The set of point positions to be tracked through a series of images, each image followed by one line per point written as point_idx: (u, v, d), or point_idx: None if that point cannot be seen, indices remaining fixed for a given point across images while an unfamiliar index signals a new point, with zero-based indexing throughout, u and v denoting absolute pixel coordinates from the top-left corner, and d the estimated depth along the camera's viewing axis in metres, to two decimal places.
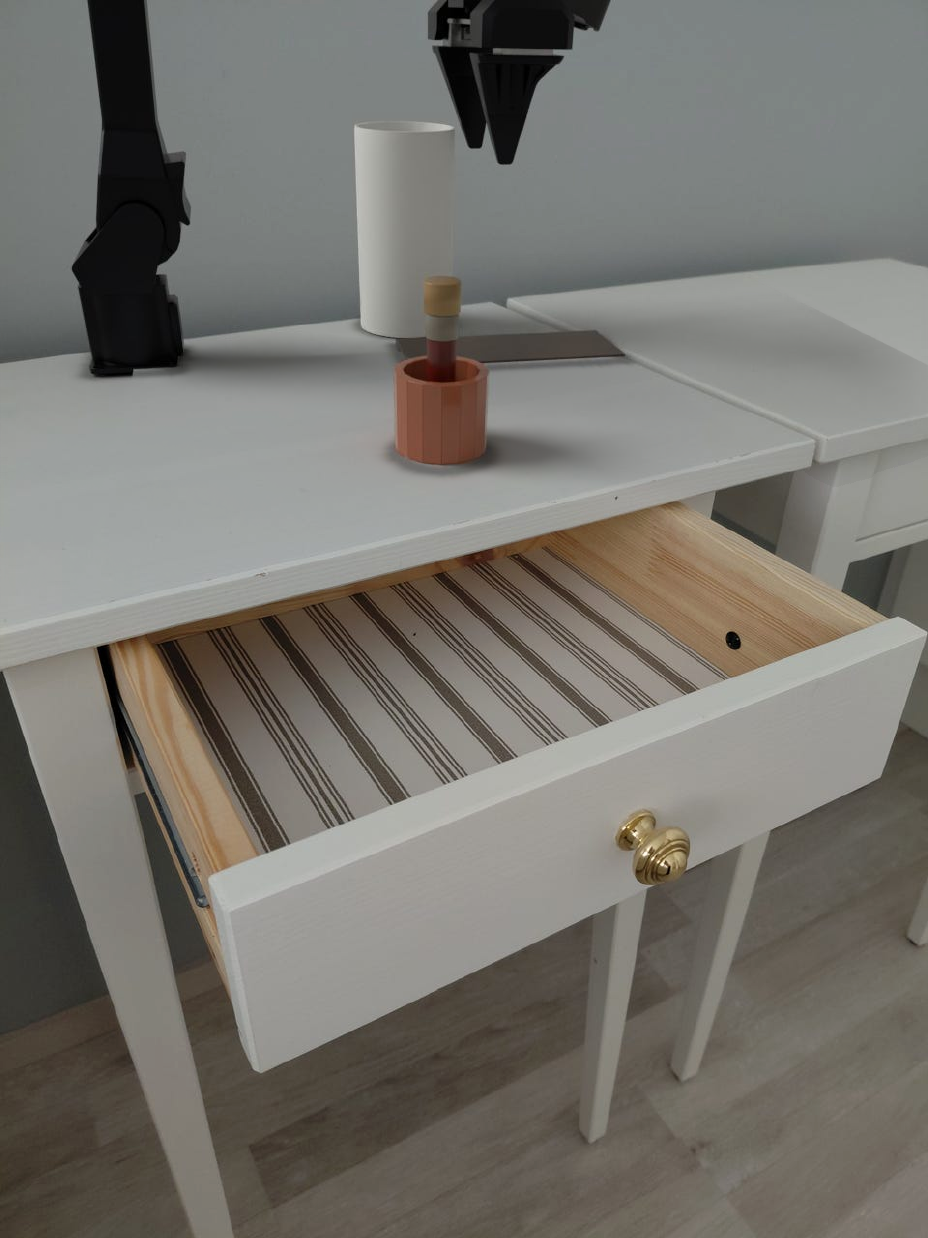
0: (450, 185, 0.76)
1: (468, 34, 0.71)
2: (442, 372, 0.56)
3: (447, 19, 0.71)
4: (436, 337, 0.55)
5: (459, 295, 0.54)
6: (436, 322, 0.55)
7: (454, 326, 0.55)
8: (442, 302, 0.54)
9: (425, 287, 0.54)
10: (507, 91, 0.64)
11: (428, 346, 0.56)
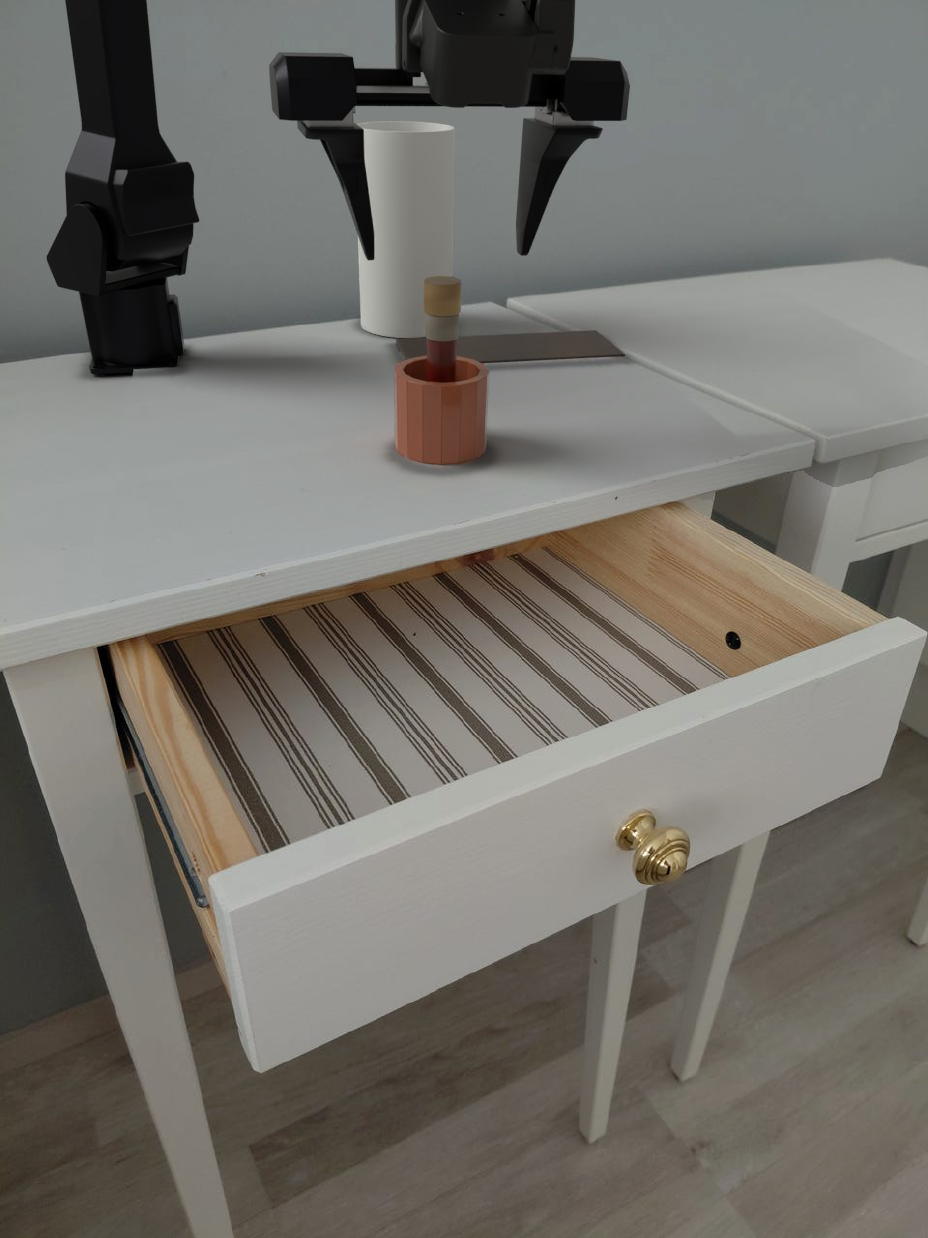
0: (450, 185, 0.76)
1: None
2: (442, 372, 0.56)
3: None
4: (436, 337, 0.55)
5: (459, 295, 0.54)
6: (436, 322, 0.55)
7: (454, 326, 0.55)
8: (442, 302, 0.54)
9: (425, 287, 0.54)
10: None
11: (428, 346, 0.56)
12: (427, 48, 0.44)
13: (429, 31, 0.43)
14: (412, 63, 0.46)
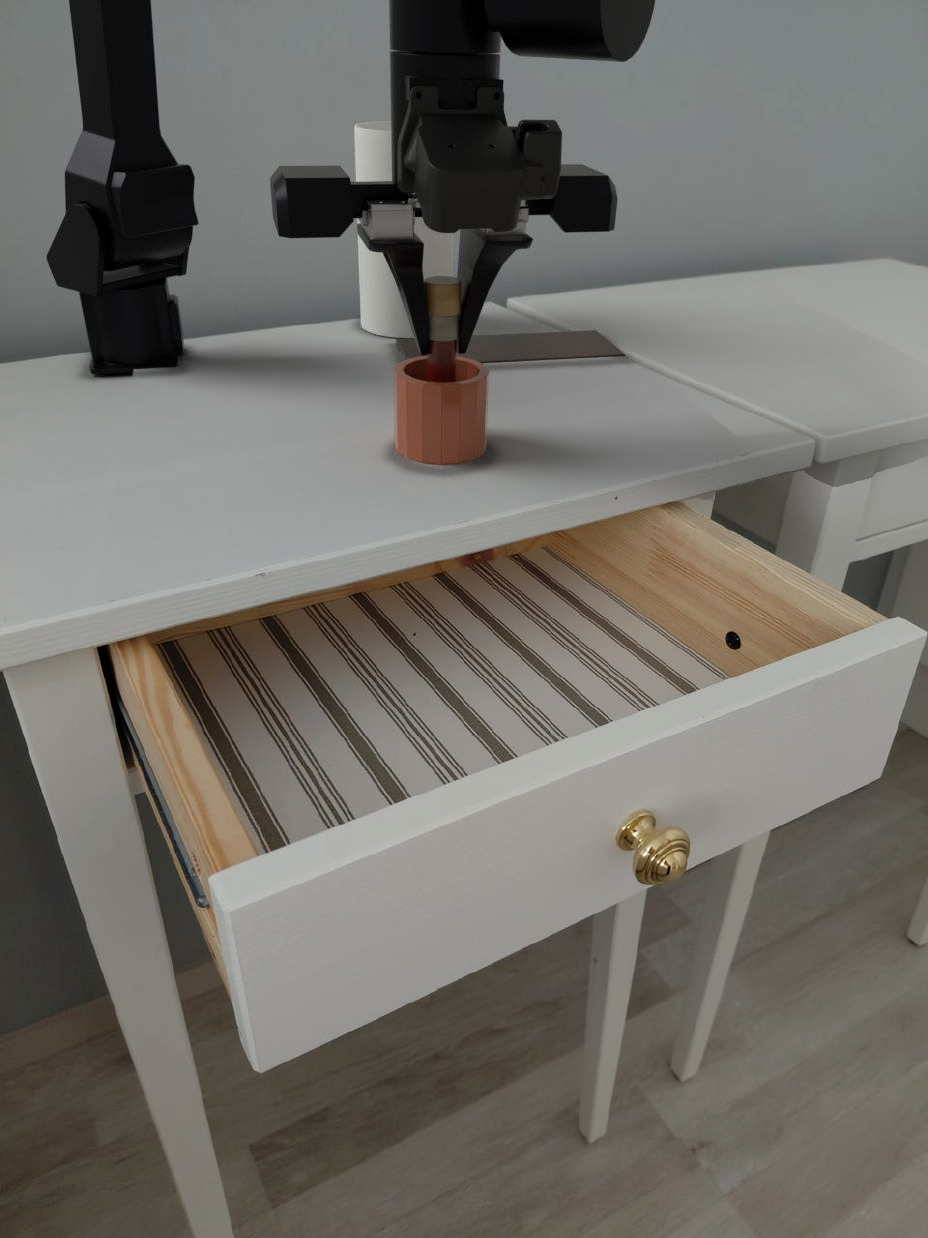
0: None
1: None
2: (442, 372, 0.56)
3: None
4: (436, 337, 0.55)
5: (459, 295, 0.54)
6: (436, 322, 0.55)
7: (454, 326, 0.55)
8: (442, 302, 0.54)
9: (425, 287, 0.54)
10: None
11: (428, 346, 0.56)
12: (420, 176, 0.46)
13: (422, 162, 0.45)
14: (406, 184, 0.48)
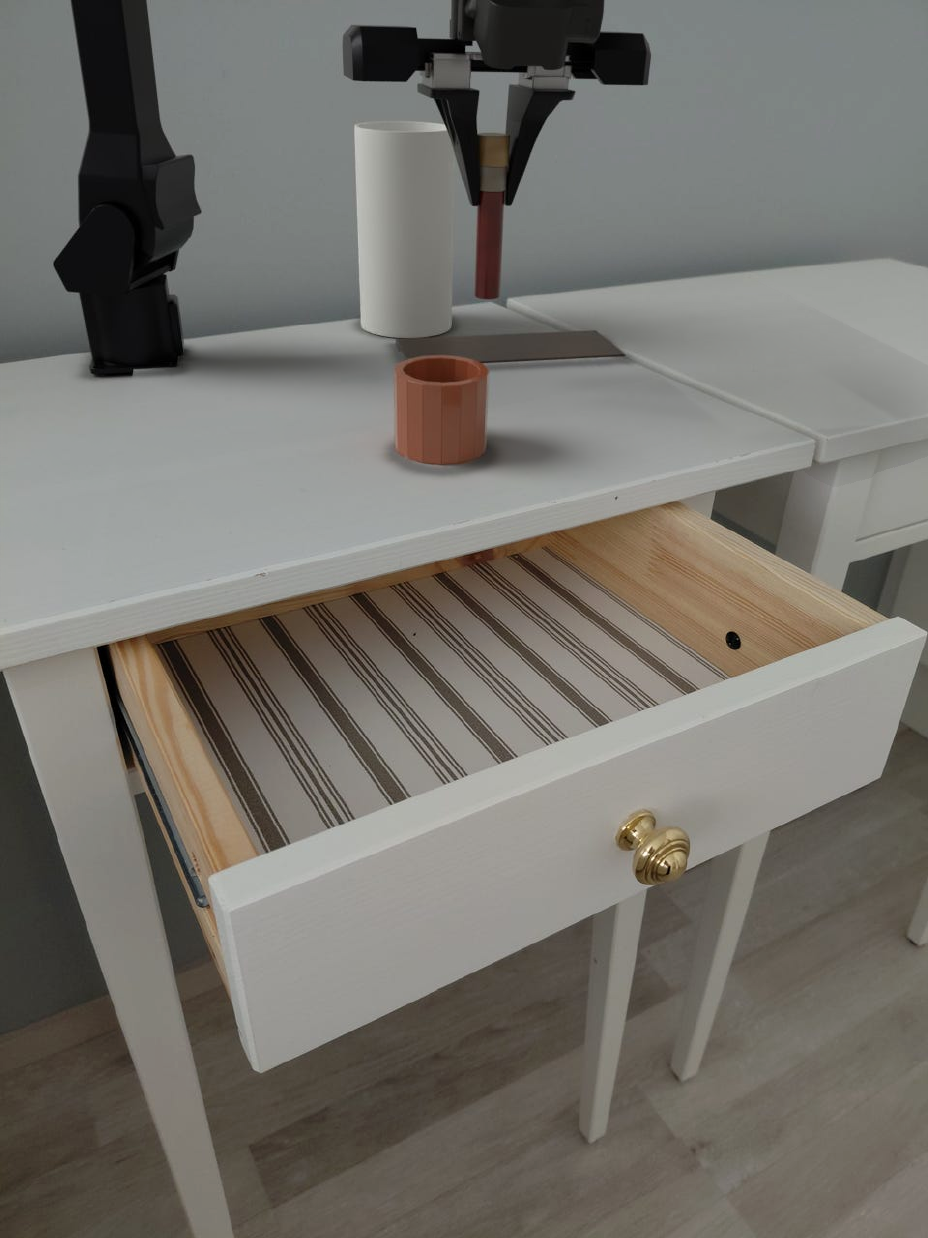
0: (450, 185, 0.76)
1: None
2: (491, 222, 0.63)
3: None
4: (486, 187, 0.61)
5: (508, 148, 0.61)
6: (487, 173, 0.61)
7: (502, 177, 0.61)
8: (493, 153, 0.60)
9: None
10: None
11: (479, 197, 0.62)
12: (480, 19, 0.52)
13: (482, 4, 0.51)
14: (466, 33, 0.54)
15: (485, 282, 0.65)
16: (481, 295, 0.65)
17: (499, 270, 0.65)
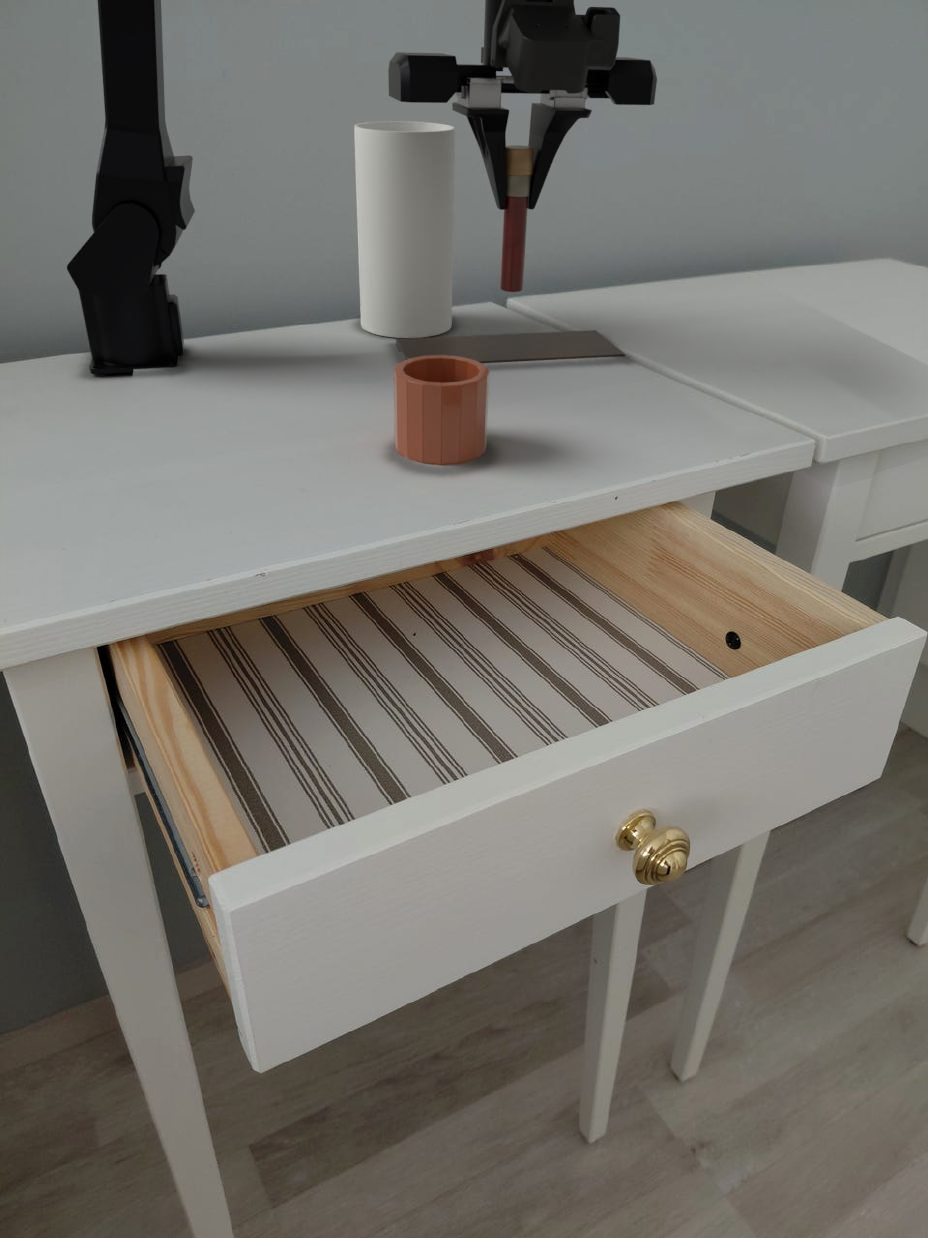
0: (450, 185, 0.76)
1: None
2: (516, 223, 0.71)
3: None
4: (513, 193, 0.70)
5: (532, 159, 0.69)
6: (513, 180, 0.70)
7: (526, 184, 0.70)
8: (519, 163, 0.69)
9: None
10: None
11: None
12: (512, 50, 0.61)
13: (515, 38, 0.60)
14: (499, 61, 0.63)
15: (510, 276, 0.73)
16: (507, 288, 0.74)
17: (523, 266, 0.73)
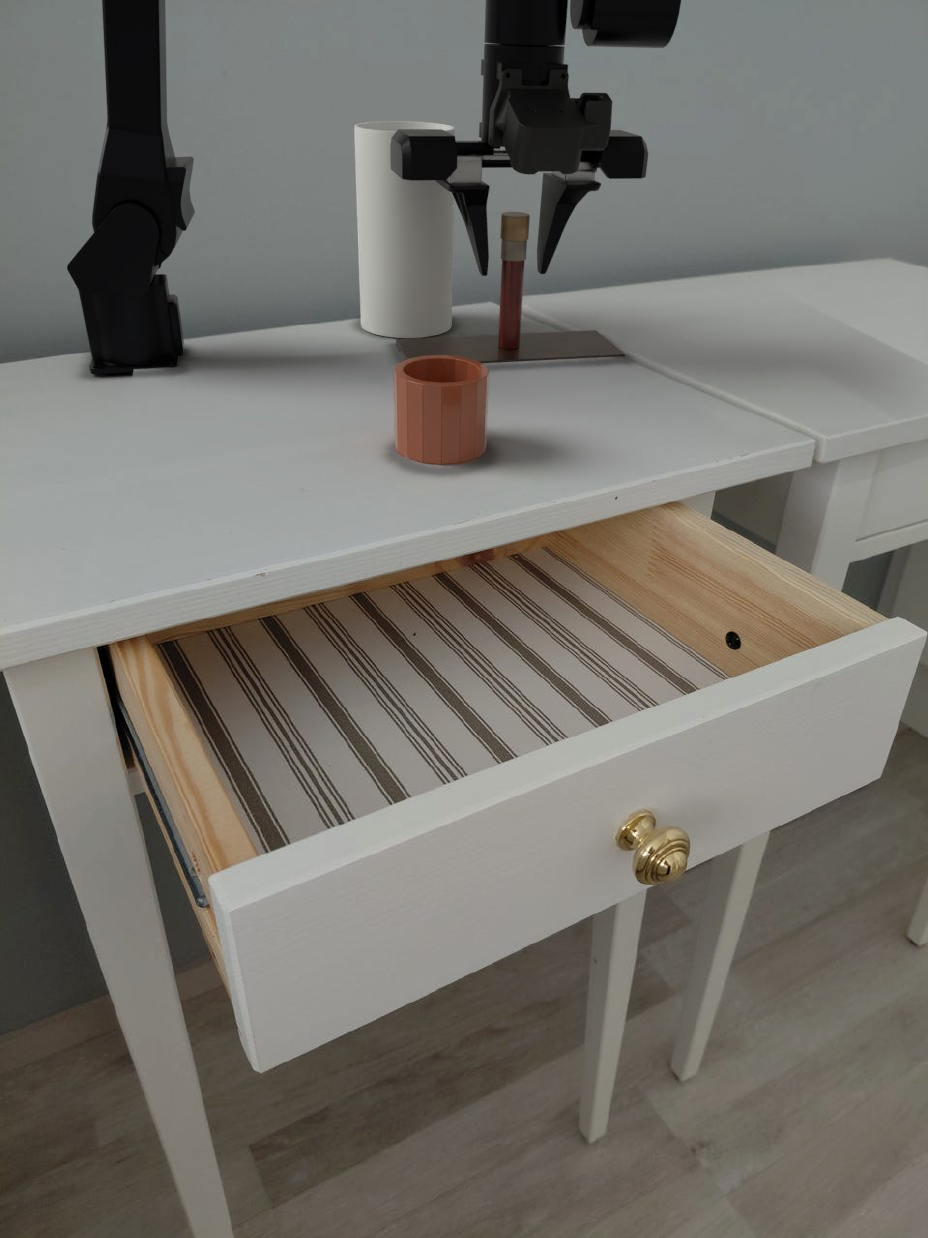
0: None
1: None
2: (513, 286, 0.74)
3: None
4: (509, 258, 0.73)
5: (528, 225, 0.72)
6: (510, 246, 0.72)
7: (523, 249, 0.73)
8: (515, 230, 0.71)
9: (502, 219, 0.72)
10: None
11: (503, 265, 0.74)
12: (509, 133, 0.63)
13: (512, 123, 0.63)
14: (496, 140, 0.66)
15: (507, 335, 0.76)
16: (504, 346, 0.77)
17: (519, 325, 0.76)
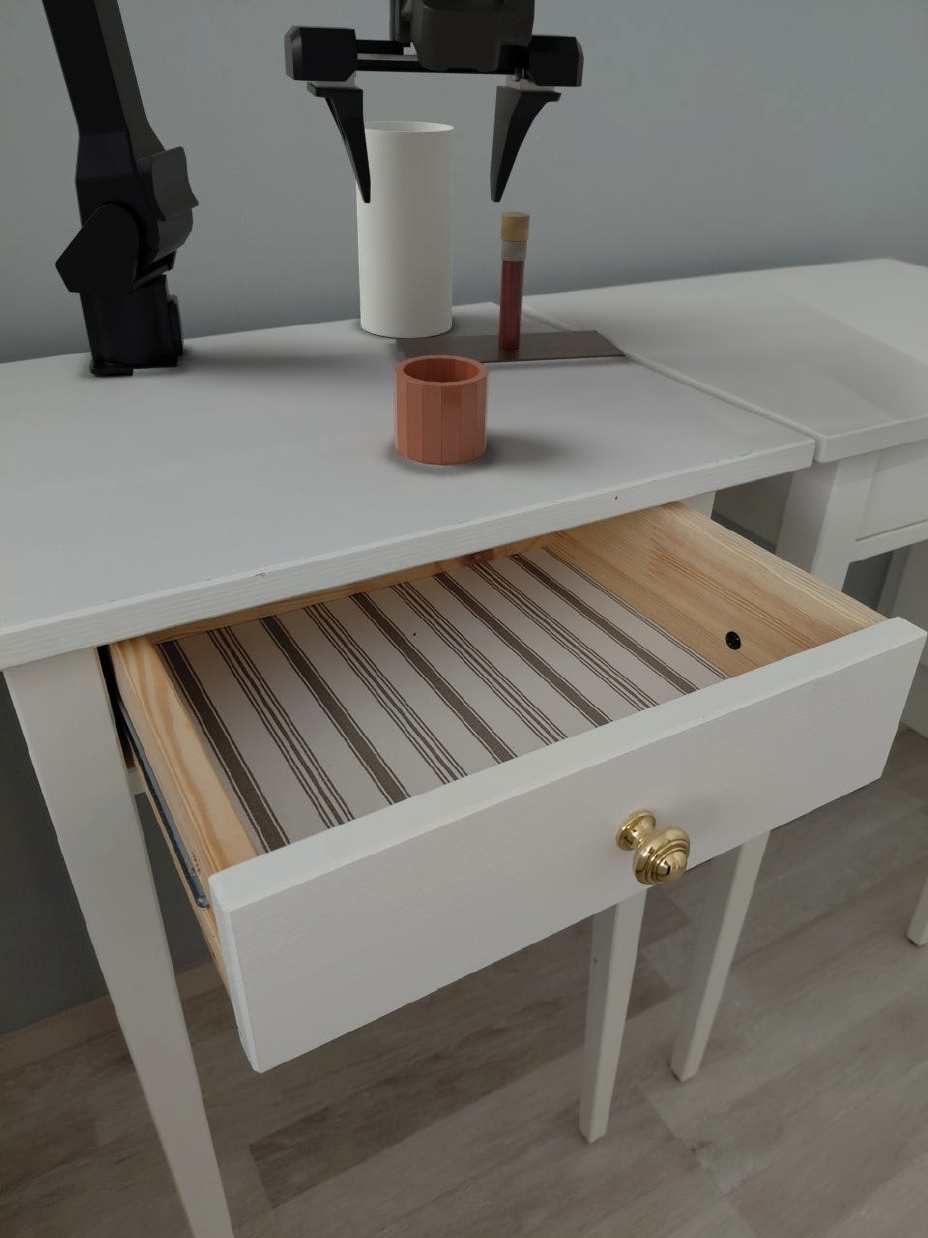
0: (450, 185, 0.76)
1: None
2: (513, 286, 0.74)
3: None
4: (509, 258, 0.73)
5: (528, 225, 0.72)
6: (510, 246, 0.72)
7: (523, 249, 0.73)
8: (515, 230, 0.71)
9: (502, 219, 0.72)
10: None
11: (503, 265, 0.74)
12: (415, 22, 0.54)
13: (417, 7, 0.53)
14: (403, 35, 0.56)
15: (507, 335, 0.76)
16: (504, 346, 0.77)
17: (519, 325, 0.76)
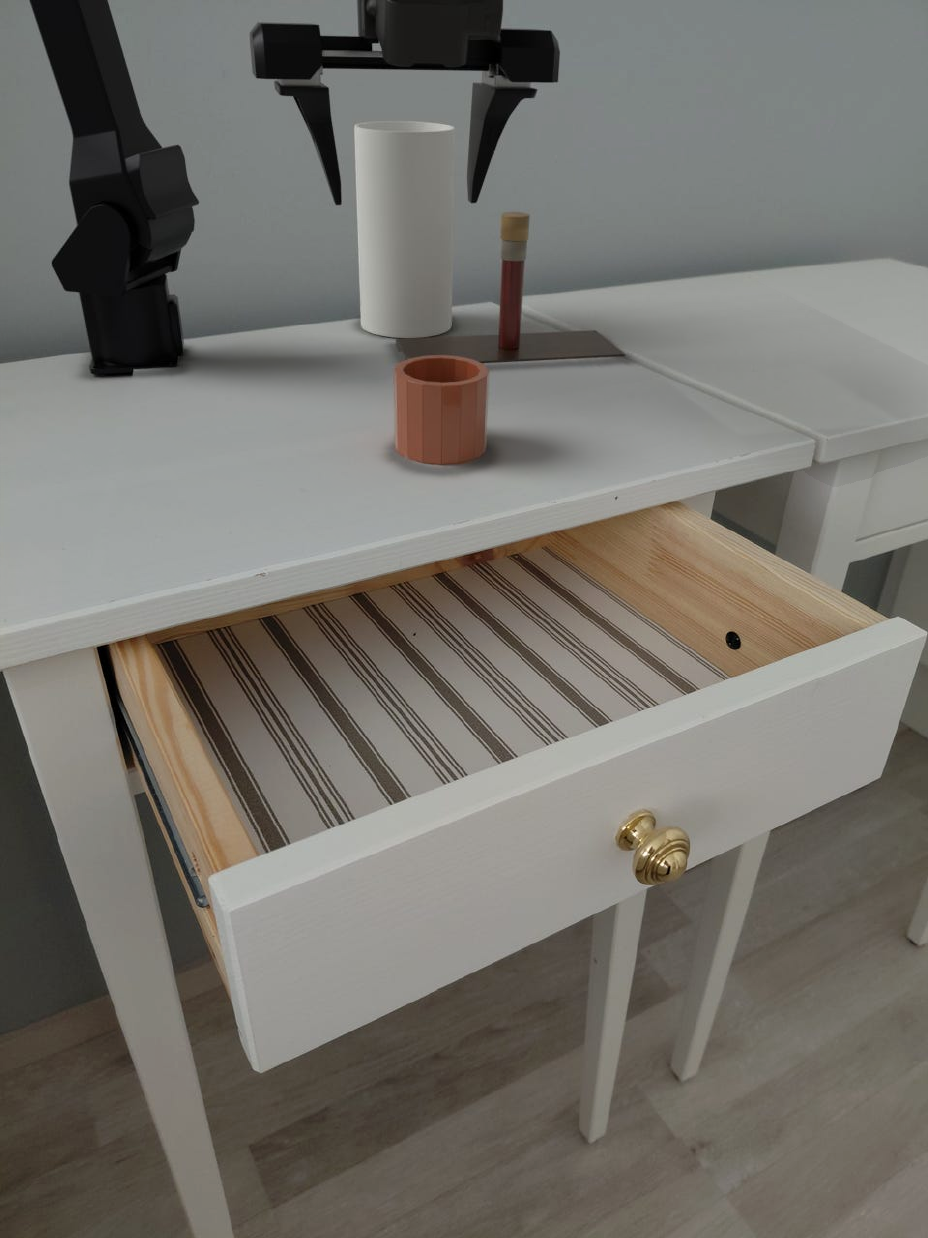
0: (450, 185, 0.76)
1: None
2: (513, 286, 0.74)
3: None
4: (509, 258, 0.73)
5: (528, 225, 0.72)
6: (510, 246, 0.72)
7: (523, 249, 0.73)
8: (515, 230, 0.71)
9: (502, 219, 0.72)
10: None
11: (503, 265, 0.74)
12: (379, 16, 0.52)
13: (380, 1, 0.51)
14: (369, 30, 0.54)
15: (507, 335, 0.76)
16: (504, 346, 0.77)
17: (519, 325, 0.76)
